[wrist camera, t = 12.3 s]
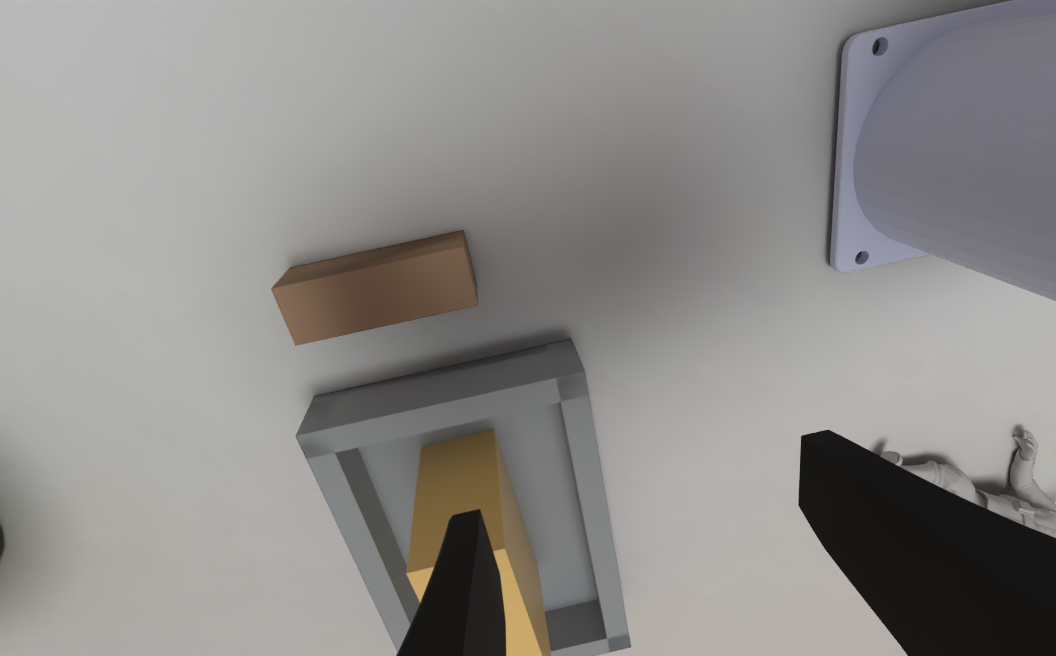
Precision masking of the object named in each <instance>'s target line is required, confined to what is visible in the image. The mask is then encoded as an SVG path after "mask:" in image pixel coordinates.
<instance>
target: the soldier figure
mask: <svg viewBox="0 0 1056 656" xmlns="http://www.w3.org/2000/svg"><path fill="white" fill-rule="evenodd" d="M1025 432H1026V433H1027V436H1028V437H1027V439H1022V438H1019V437H1017V436H1014V439H1016V441H1017V442H1018V443H1019V445H1020V447H1021V448H1022V449H1018V451H1017V452H1016V455H1015V458H1014V462H1013V463H1012V466H1011V470H1010V483H1011V486H1012V487H1013V488H1014V490H1015V492H1016V494H1017V496H1018V498H1019V499H1017V498H1014V497H1012V496H1008V495H1003V494H1000V495H999V496H995V495H992V494H989V493H986V492H983V491H981V490H977V489H975V487H974V485H973V484H972V482H971V481H970V479H969V478H968V477H967V476H966V475H965V474H964V472H962V471H961V470H960V469H958V468H955V467H953V466H951V465H948V464H937V463H936V462H934V461H927V462H926V463H925V464H921V465H910V466H903V465H901V464H902V456H901V455H900V454H898V453H897V452H893V451H887V452H884V453H882V454H881V455H880V457H882V458H884V459H886V460H888V461H890V462H892V463H894V464H896V465H898V466H899V467H901V468H903V469H905V470H907V471H909V472H911V473H913V474H915V475H917V476H919V477H921V478H923V479H925V480H927V481H929V482H931V483H933V484H935V485H937V486H939V487H941V488H943V489H945V490H947V491H949V492H951V493H953V494H956V495H958V496H960V497H962V498H964V499H966V500H968V501H970V502H973V503H975V504H977V505H979V506H981V507H984V508H986V509H988V510H990V511H992V512H995V513H997V514H999V515H1001V516H1004V517H1006V518H1008V519H1010V520H1013V521H1015V522H1018V523H1020V524H1022V525H1025V526H1027V527H1030V528H1032V529H1035V530H1037V531H1040V532H1042V533H1045V534H1047V535H1050V536H1052V537H1055V538H1056V504H1055V503H1054V502H1053V501H1052V500H1051V499H1050V498H1049V497H1048V496H1047V495H1046V494H1045V493H1043V491H1042V490H1041V489H1040V488H1039V487H1038V485H1037V484H1036V482H1035V481H1034V480H1033V478H1032V477H1033V467H1034V464H1035V460H1036V453H1037V450H1038V445H1037V442H1036V440H1035V438H1034V437H1033V435H1032V434H1031V433H1030V432H1029V431H1027V430H1025ZM952 490H953V491H954V492H953V491H952Z"/></svg>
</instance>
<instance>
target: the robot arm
mask: <svg viewBox="0 0 1056 656" xmlns="http://www.w3.org/2000/svg"><path fill="white" fill-rule="evenodd" d="M876 40H878V41H879V44H880V46H879V49H878V51H877V53H876V54H875V55H874V54H873V52H872V46H873V43H874V42H875V41H876ZM861 251H862V254H861V257H860V258H859V259H858V260H856V261H855V258H856V255H857V254H858V253H859V252H861ZM930 254H932V255H935V256H937V257H940V258H943V259H945V260H948V261H951V262H953V263H956V264H959V265H961V266H964V267H967V268H969V269H972V270H975V271H977V272H980V273H983V274H985V275H988V276H991V277H993V278H996V279H999V280H1001V281H1004V282H1007V283H1009V284H1012V285H1015V286H1017V287H1020V288H1022V289H1025V290H1028V291H1030V292H1033V293H1036V294H1038V295H1041V296H1044V297H1046V298H1049V299H1052V300H1054V301H1056V0H1010V1H1005V2H1000V3H996V4H991V5H986V6H982V7H977V8H972V9H967V10H963V11H958V12H953V13H949V14H944V15H939V16H935V17H930V18H925V19H921V20H916V21H911V22H907V23H902V24H897V25H893V26H888V27H883V28H879V29H874V30H869V31H865V32H860V33H857V34H855V35H853V36H851V37H850V38H849V39H848V40H847V42H846V44H845V45H844V48H843V52H842V64H841V81H840V98H839V115H838V132H837V149H836V166H835V183H834V200H833V217H832V234H831V251H830V264H831V266H832V268H833V269H835V270H837V271H839V272H841V273H849V272H853V271H858V270H862V269H867V268H871V267H876V266H880V265H885V264H889V263H894V262H898V261H903V260H907V259H912V258H916V257H921V256H925V255H930ZM799 507H800V509H801V510H802V512H803V514H804V515H805V517H806V519H807V521H808V522H809V524H810V526H811V527H812V529H813V531H814V532H815V534H816V535H817V537H818V539H819V540H820V542H821V543H822V545H823V547H824V548H825V549H826V551H827V552H828V553H829V555H830V556H831V557H832V559H833V560H834V561H835V563H836V564H837V565H838V566H839V568H840V569H841V570H842V572H843V573H844V574H845V575H846V577H847V578H848V579H849V581H850V582H851V583H852V584H853V586H854V587H855V588H856V590H857V591H858V592H859V593H860V595H861V596H862V597H863V598H864V600H865V601H866V602H867V604H868V605H869V606H870V607H871V609H872V610H873V611H874V612H875V614H876V615H877V616H878V617H879V619H880V620H881V621H882V623H883V624H884V625H885V626H886V628H887V629H888V630H889V631H890V633H891V634H892V635H893V637H894V638H895V639H896V640H897V642H898V643H899V644H900V645H901V647H902V648H903V650H904V651H905V652H906V654H907V655H908V656H1056V538H1055V537H1052V536H1050V535H1047V534H1045V533H1042V532H1040V531H1037V530H1035V529H1032V528H1030V527H1027V526H1025V525H1022V524H1020V523H1018V522H1015V521H1013V520H1010V519H1008V518H1006V517H1004V516H1001V515H999V514H997V513H995V512H992V511H990V510H988V509H986V508H984V507H981V506H979V505H977V504H975V503H973V502H970V501H968V500H966V499H964V498H962V497H960V496H958V495H956V494H953V493H951V492H949V491H947V490H945V489H943V488H941V487H939V486H937V485H935V484H933V483H931V482H929V481H927V480H925V479H923V478H921V477H919V476H917V475H915V474H913V473H911V472H909V471H907V470H905V469H903V468H901V467H899V466H898V465H896V464H894V463H892V462H890V461H888V460H886V459H884V458H882V457H880V456H878V455H877V454H875V453H873V452H871V451H869V450H867V449H865V448H863V447H861V446H859V445H858V444H856V443H854V442H852V441H850V440H848V439H846V438H844V437H842V436H840V435H838V434H836V433H834V432H832V431H830V430H825V431H820V432H816V433H811V434H807V435H803V436H801V455H800V480H799ZM396 656H506V620H505V611H504V602H503V594H502V586H501V577H500V572H499V569H498V565H497V562H496V559H495V556H494V552H493V549H492V546H491V543H490V539H489V536H488V533H487V530H486V526H485V523H484V520H483V517H482V513H481V510H480V509H477V510H473V511H468V512H464V513H460V514H455V515H452V517H451V518H450V519H449V522H448V525H447V529H446V533H445V536H444V539H443V542H442V545H441V549H440V551H439V554H438V557H437V560H436V563H435V566H434V569H433V571H432V574H431V577H430V579H429V582H428V584H427V587H426V589H425V592H424V594H423V597H422V599H421V602H420V604H419V607H418V609H417V612H416V614H415V616H414V618H413V620H412V623H411V625H410V627H409V629H408V631H407V634H406V636H405V638H404V640H403V642H402V645H401V647H400V649H399V651H398V653H397V655H396Z"/></svg>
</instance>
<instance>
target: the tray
mask: <svg viewBox="0 0 1056 656" xmlns="http://www.w3.org/2000/svg"><path fill="white" fill-rule="evenodd" d="M492 429H494V430H495V433H496V436H497V439H498V443H499V446H500V449H501V452H502V455H503V458H504V461H505V465H506V468H507V471H508V474H509V477H510V480H511V484H512V487H513V490H514V493H515V496H516V499H517V502H518V506H519V509H520V512H521V515H522V518H523V521H524V525H525V528H526V531H527V534H528V537H529V540H530V543H531V547H532V550H533V553H534V556H535V559H536V562H537V566H538V571H539V577H540V584H541V591H542V597H543V604H544V610H545V617H546V623H547V630H548V636H549V643H550V649H551V656H596V655H600V654H604V653H609V652H613V651H617V650H621V649H626V648H630V647H631V644H630V638H629V632H628V626H627V620H626V614H625V608H624V602H623V596H622V590H621V584H620V578H619V572H618V566H617V560H616V554H615V548H614V542H613V536H612V530H611V524H610V518H609V512H608V507H607V501H606V495H605V489H604V483H603V477H602V471H601V465H600V459H599V453H598V447H597V441H596V435H595V429H594V423H593V417H592V411H591V405H590V399H589V393H588V387H587V381H586V375H585V371H584V368H583V366H582V363H581V361H580V359H579V356H578V354H577V351H576V349H575V346H574V344H573V342H572V339H570V340H566V341H561V342H557V343H552V344H548V345H543V346H539V347H534V348H530V349H525V350H521V351H516V352H512V353H507V354H503V355H498V356H494V357H489V358H485V359H480V360H476V361H471V362H467V363H462V364H458V365H453V366H449V367H444V368H440V369H435V370H431V371H426V372H422V373H417V374H413V375H408V376H404V377H399V378H395V379H390V380H386V381H381V382H377V383H372V384H368V385H363V386H359V387H354V388H350V389H345V390H341V391H336V392H332V393H327V394H323V395H318V396H314V398H313V400H312V402H311V404H310V406H309V408H308V410H307V413H306V415H305V417H304V419H303V421H302V423H301V425H300V428H299V430H298V432H297V434H296V438H297V440H298V442H299V444H300V447H301V449H302V451H303V453H304V455H305V457H306V459H307V461H308V464H309V466H310V468H311V470H312V472H313V474H314V476H315V478H316V481H317V483H318V485H319V487H320V489H321V491H322V493H323V495H324V498H325V500H326V502H327V504H328V506H329V508H330V510H331V512H332V515H333V517H334V519H335V521H336V523H337V525H338V527H339V529H340V532H341V534H342V536H343V538H344V540H345V542H346V544H347V546H348V548H349V551H350V553H351V555H352V557H353V559H354V561H355V563H356V565H357V568H358V570H359V572H360V574H361V576H362V578H363V580H364V582H365V585H366V587H367V589H368V591H369V593H370V595H371V597H372V599H373V602H374V604H375V606H376V608H377V610H378V612H379V614H380V616H381V619H382V621H383V623H384V625H385V627H386V629H387V631H388V633H389V636H390V638H391V640H392V642H393V644H394V646H395V648H396V650H397V653H398V651H399V649H400V647H401V645H402V642H403V640H404V638H405V636H406V634H407V631H408V629H409V627H410V625H411V623H412V620H413V618H414V616H415V614H416V612H417V609H418V607H419V604H420V602H419V599H418V597H417V595H416V593H415V591H414V589H413V587H412V585H411V583H410V581H409V578H408V576H407V574H406V572H407V563H408V554H409V546H410V537H411V528H412V519H413V511H414V502H415V493H416V485H417V476H418V467H419V458H420V450H421V448H422V447H426V446H430V445H433V444H437V443H441V442H445V441H449V440H453V439H457V438H461V437H464V436H468V435H472V434H476V433H480V432H484V431H488V430H492Z"/></svg>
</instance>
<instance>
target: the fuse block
mask: <svg viewBox="0 0 1056 656" xmlns="http://www.w3.org/2000/svg"><path fill="white" fill-rule="evenodd" d="M477 509H480V510H481V513H482V517H483V520H484V523H485V526H486V530H487V533H488V536H489V539H490V543H491V546H492V549H493V552H494V556H495V559H496V562H497V565H498V569H499V572H500V577H501V586H502V594H503V602H504V611H505V620H506V656H551V649H550V643H549V636H548V630H547V623H546V617H545V610H544V604H543V597H542V591H541V584H540V577H539V571H538V566H537V562H536V559H535V556H534V553H533V550H532V547H531V543H530V540H529V537H528V534H527V531H526V528H525V525H524V521H523V518H522V515H521V512H520V509H519V506H518V502H517V499H516V496H515V493H514V490H513V487H512V484H511V480H510V477H509V474H508V471H507V468H506V465H505V461H504V458H503V455H502V452H501V449H500V446H499V443H498V439H497V436H496V433H495V430H494V429H492V430H488V431H484V432H480V433H476V434H472V435H468V436H464V437H461V438H457V439H453V440H449V441H445V442H441V443H437V444H433V445H430V446H426V447H422V448H421V450H420V458H419V467H418V476H417V485H416V493H415V502H414V511H413V519H412V528H411V537H410V546H409V554H408V563H407V572H406V574H407V576H408V578H409V581H410V583H411V585H412V587H413V589H414V591H415V593H416V595H417V597H418V599H419V602H421V599H422V597H423V594H424V592H425V589H426V587H427V584H428V582H429V579H430V577H431V574H432V571H433V569H434V566H435V563H436V560H437V557H438V554H439V551H440V549H441V545H442V542H443V539H444V536H445V533H446V529H447V525H448V522H449V519H450V518H451V517H452V515H455V514H460V513H464V512H468V511H473V510H477Z"/></svg>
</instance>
